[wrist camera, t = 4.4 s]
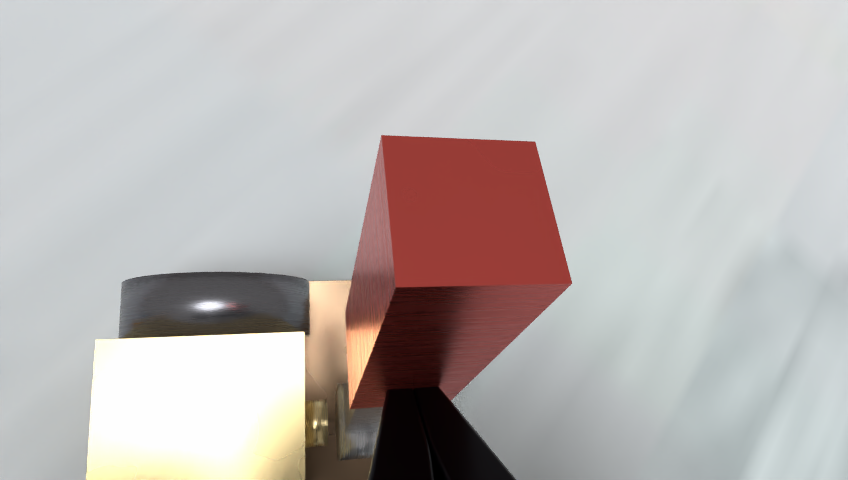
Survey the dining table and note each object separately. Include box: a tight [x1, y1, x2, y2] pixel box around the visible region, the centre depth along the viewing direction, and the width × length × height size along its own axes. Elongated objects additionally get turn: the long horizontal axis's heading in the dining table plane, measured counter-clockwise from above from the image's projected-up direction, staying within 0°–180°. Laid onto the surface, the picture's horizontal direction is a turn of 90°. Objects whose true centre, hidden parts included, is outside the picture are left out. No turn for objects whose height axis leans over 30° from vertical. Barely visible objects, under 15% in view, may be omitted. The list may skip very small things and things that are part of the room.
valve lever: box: [335, 135, 572, 461], centre depth 11 cm, size 2×2×12 cm
